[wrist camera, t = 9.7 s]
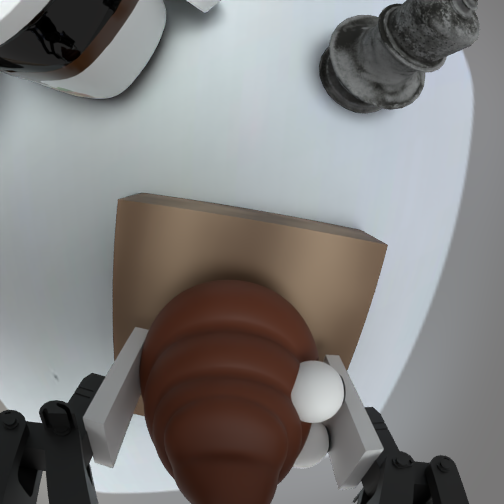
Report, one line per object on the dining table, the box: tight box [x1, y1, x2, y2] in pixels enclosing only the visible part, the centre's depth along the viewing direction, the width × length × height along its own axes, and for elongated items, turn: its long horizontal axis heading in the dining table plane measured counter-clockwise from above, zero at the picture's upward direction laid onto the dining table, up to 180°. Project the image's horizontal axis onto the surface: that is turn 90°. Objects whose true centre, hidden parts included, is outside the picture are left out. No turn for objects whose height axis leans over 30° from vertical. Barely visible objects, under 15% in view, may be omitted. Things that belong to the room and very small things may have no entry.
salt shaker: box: [319, 0, 479, 113], centre depth 11 cm, size 6×6×12 cm
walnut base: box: [113, 193, 388, 416], centre depth 19 cm, size 14×14×4 cm
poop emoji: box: [139, 280, 346, 504], centre depth 11 cm, size 10×8×9 cm
